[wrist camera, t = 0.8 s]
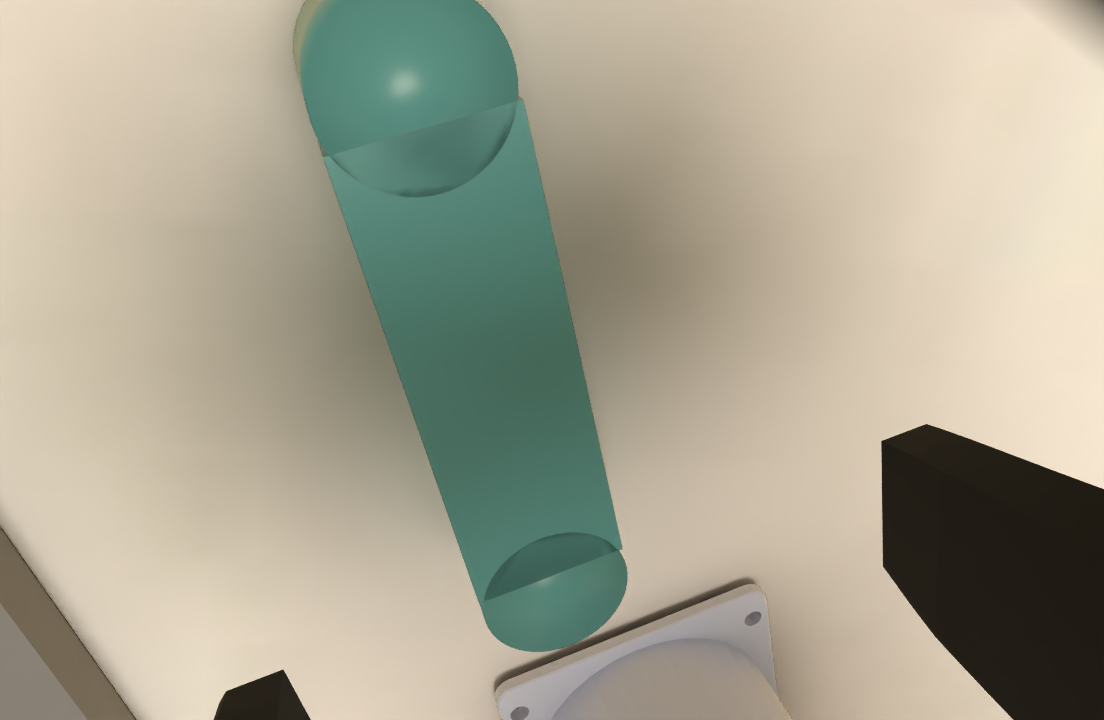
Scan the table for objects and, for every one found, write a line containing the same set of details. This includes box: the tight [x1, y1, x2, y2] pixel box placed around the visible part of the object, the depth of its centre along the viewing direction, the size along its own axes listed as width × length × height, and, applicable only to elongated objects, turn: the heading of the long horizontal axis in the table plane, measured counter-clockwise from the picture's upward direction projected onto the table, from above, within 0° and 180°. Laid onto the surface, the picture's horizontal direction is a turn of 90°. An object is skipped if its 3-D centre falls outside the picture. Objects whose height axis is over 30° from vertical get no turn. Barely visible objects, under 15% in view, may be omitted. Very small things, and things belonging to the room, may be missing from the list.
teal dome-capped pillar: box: [293, 0, 627, 652], centre depth 16 cm, size 13×3×4 cm, turn 12°
